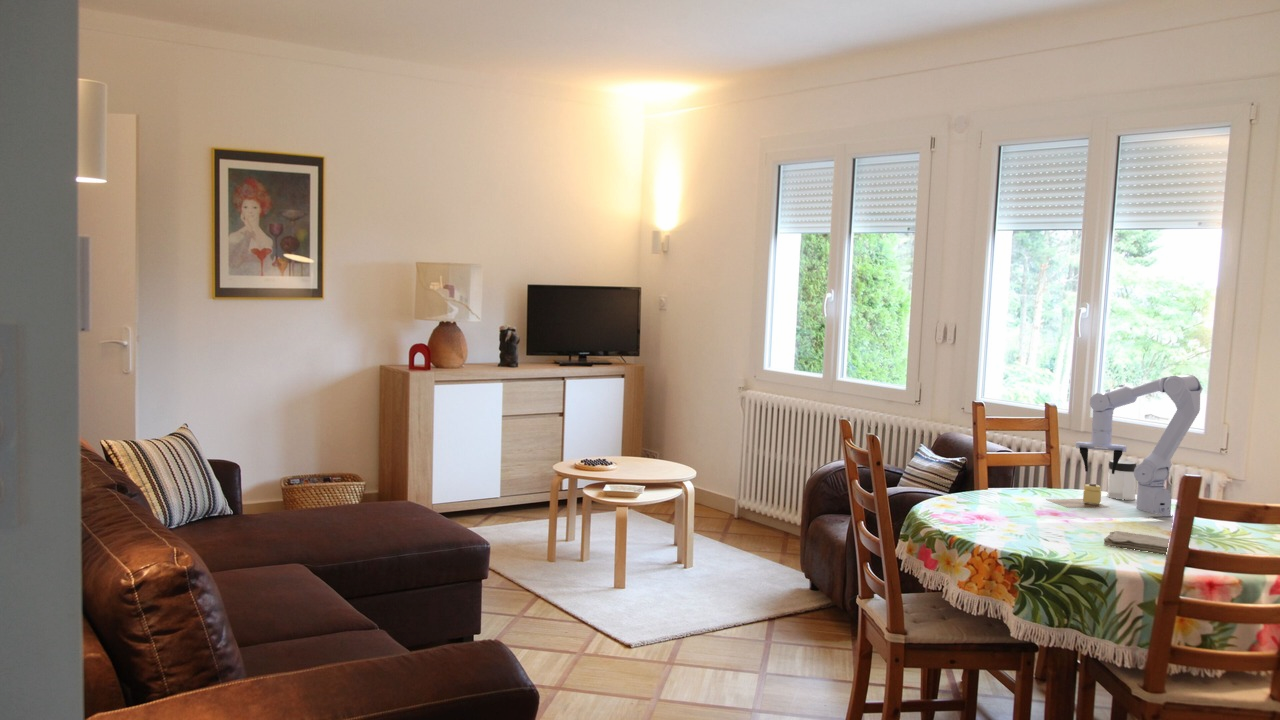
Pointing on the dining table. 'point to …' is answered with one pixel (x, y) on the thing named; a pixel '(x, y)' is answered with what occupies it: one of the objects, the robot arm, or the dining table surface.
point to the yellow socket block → (1092, 493)
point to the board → (1074, 503)
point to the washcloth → (1137, 542)
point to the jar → (1122, 480)
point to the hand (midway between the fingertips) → (1099, 472)
